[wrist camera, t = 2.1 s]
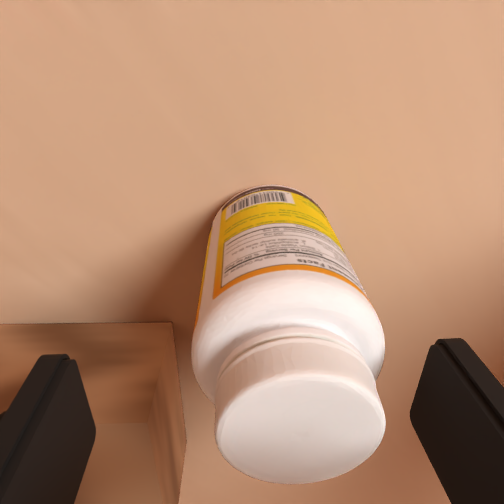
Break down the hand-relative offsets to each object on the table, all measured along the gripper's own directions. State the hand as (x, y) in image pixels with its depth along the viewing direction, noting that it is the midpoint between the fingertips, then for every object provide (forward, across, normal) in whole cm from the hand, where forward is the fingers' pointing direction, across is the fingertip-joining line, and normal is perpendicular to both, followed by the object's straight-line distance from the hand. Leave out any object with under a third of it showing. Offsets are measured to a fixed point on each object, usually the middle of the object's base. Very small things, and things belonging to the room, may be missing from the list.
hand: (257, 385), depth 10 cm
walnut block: (+9, +9, +10) cm, 16 cm away
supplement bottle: (+9, -1, 0) cm, 9 cm away
